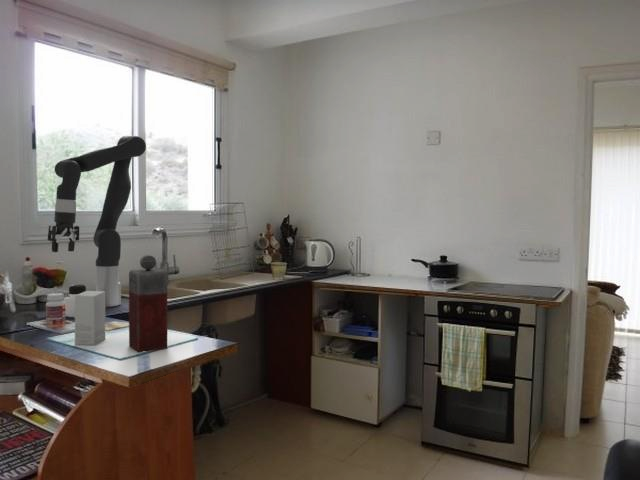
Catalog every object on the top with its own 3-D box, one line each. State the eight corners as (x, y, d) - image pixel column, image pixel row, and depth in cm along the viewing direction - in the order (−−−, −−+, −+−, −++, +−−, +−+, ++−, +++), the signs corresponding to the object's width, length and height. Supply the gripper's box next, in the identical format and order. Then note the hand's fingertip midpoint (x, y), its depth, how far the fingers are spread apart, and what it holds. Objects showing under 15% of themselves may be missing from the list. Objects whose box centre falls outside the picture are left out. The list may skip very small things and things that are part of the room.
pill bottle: (66, 326, 183) (66, 294, 183) (47, 328, 180) (46, 296, 179) (64, 323, 188) (64, 292, 188) (45, 325, 185) (44, 293, 184)
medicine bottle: (91, 314, 205) (91, 284, 204) (76, 318, 198) (76, 286, 197) (78, 313, 208) (78, 283, 207) (63, 316, 201) (62, 285, 200)
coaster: (114, 322, 192) (114, 321, 192) (132, 325, 186) (132, 324, 186) (90, 327, 183) (89, 325, 183) (107, 331, 178) (107, 329, 178)
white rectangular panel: (56, 320, 194) (56, 317, 194) (92, 328, 182) (92, 325, 182) (26, 325, 185) (26, 322, 185) (61, 333, 173) (61, 331, 172)
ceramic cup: (282, 280, 316) (282, 264, 315) (267, 279, 319) (267, 263, 319) (291, 278, 328) (291, 262, 327) (276, 277, 331) (277, 261, 331)
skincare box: (86, 338, 167) (86, 290, 166) (107, 339, 167) (106, 290, 166) (73, 345, 159) (73, 294, 158) (95, 345, 159) (94, 295, 158)
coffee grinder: (155, 340, 166) (155, 253, 165) (167, 348, 157) (167, 255, 155) (126, 344, 161) (126, 254, 159) (137, 352, 152) (137, 257, 150)
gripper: (59, 211, 199) (57, 253, 199) (86, 212, 212) (83, 251, 213) (43, 209, 201) (41, 251, 201) (70, 210, 214) (68, 250, 215)
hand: (63, 251), depth 207 cm, fingers open, 8 cm apart
